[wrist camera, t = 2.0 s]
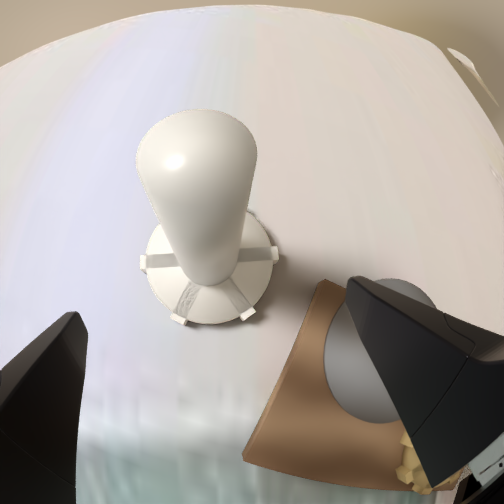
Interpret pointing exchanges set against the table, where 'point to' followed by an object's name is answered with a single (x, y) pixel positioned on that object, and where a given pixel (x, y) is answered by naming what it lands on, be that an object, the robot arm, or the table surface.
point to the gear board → (338, 407)
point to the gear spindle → (203, 218)
